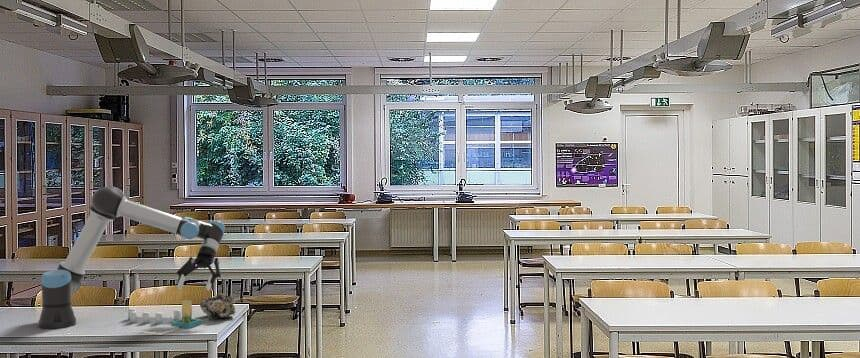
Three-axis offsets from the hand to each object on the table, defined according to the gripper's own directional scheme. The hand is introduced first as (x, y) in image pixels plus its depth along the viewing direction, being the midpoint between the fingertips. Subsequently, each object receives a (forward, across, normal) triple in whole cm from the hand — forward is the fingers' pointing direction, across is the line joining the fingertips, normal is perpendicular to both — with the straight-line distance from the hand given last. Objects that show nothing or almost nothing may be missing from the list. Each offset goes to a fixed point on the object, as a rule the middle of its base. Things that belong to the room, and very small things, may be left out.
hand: (193, 288), depth 368 cm
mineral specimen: (+2, -6, -19) cm, 20 cm away
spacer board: (+12, +19, -9) cm, 24 cm away
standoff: (+15, 0, -6) cm, 16 cm away
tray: (+15, 0, -6) cm, 16 cm away
